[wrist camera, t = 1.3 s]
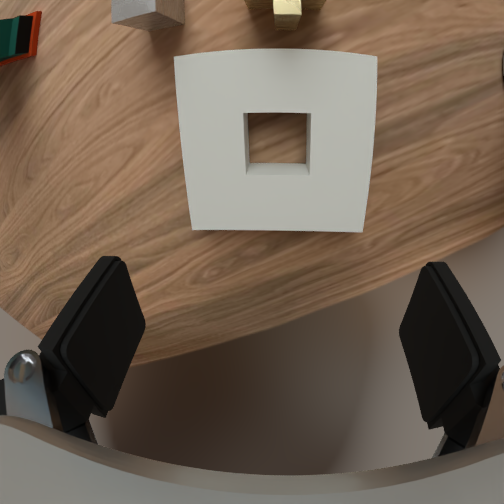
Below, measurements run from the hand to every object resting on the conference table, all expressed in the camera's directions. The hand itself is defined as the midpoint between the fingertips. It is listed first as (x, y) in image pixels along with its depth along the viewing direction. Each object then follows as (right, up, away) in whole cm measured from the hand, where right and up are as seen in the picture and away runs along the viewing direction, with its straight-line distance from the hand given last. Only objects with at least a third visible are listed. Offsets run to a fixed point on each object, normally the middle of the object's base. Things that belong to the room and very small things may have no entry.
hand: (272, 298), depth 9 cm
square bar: (-9, +26, +13) cm, 31 cm away
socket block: (+2, +13, +20) cm, 24 cm away
